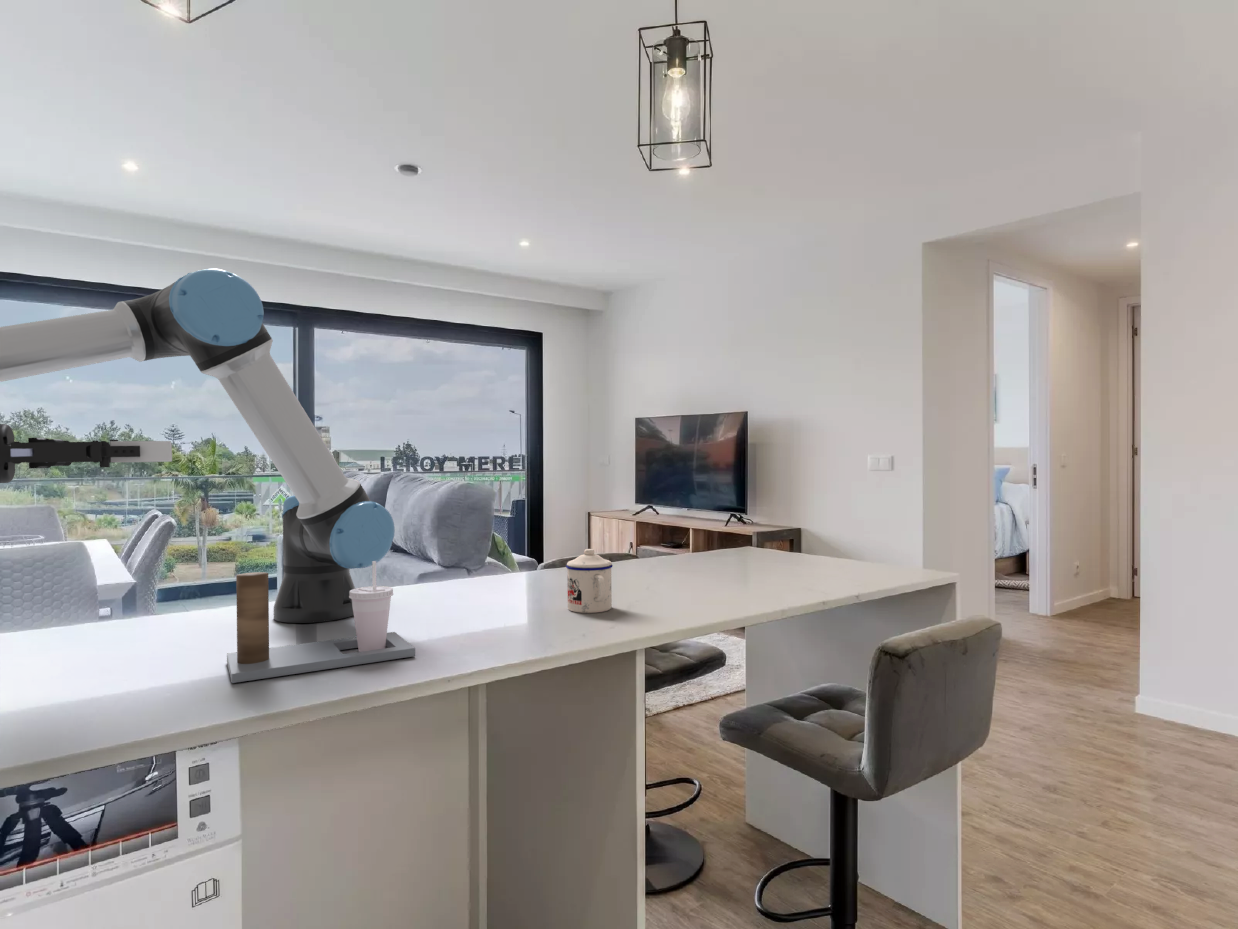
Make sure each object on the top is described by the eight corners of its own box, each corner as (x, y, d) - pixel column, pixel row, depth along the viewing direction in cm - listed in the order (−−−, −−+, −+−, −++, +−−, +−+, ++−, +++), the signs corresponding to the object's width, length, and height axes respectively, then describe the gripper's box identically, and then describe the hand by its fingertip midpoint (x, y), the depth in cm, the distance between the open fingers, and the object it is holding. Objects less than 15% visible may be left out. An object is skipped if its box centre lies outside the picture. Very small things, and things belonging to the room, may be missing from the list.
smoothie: (378, 660, 105) (377, 564, 105) (340, 657, 107) (339, 563, 107) (402, 648, 112) (401, 558, 112) (366, 646, 113) (365, 557, 113)
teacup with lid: (560, 606, 143) (559, 548, 143) (602, 602, 147) (602, 545, 147) (580, 618, 132) (580, 555, 132) (626, 614, 136) (625, 552, 136)
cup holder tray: (226, 661, 104) (225, 570, 104) (394, 639, 117) (393, 558, 117) (231, 683, 94) (230, 582, 94) (415, 656, 107) (414, 567, 107)
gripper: (-7, 481, 100) (172, 477, 111) (-57, 487, 79) (171, 480, 90) (-8, 427, 100) (171, 428, 111) (-59, 418, 79) (169, 420, 90)
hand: (171, 451), depth 101 cm, fingers open, 13 cm apart
